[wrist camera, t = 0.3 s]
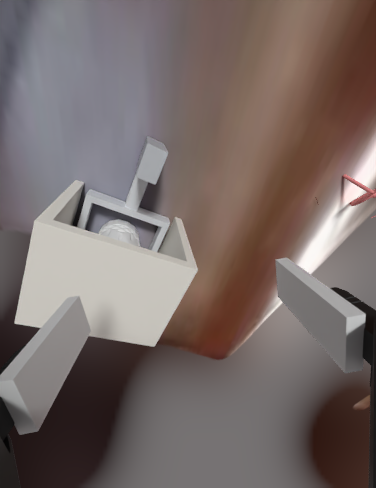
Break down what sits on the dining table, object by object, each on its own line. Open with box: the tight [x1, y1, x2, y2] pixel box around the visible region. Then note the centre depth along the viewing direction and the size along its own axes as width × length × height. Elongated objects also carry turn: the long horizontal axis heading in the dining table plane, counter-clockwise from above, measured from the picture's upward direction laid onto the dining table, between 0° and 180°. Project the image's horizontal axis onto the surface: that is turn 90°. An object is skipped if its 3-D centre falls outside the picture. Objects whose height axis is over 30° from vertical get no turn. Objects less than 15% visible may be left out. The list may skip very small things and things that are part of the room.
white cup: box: [98, 219, 140, 247], centre depth 36 cm, size 8×8×10 cm
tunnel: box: [15, 180, 198, 347], centre depth 34 cm, size 14×17×15 cm
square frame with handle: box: [77, 136, 170, 252], centre depth 35 cm, size 24×13×9 cm, turn 155°
